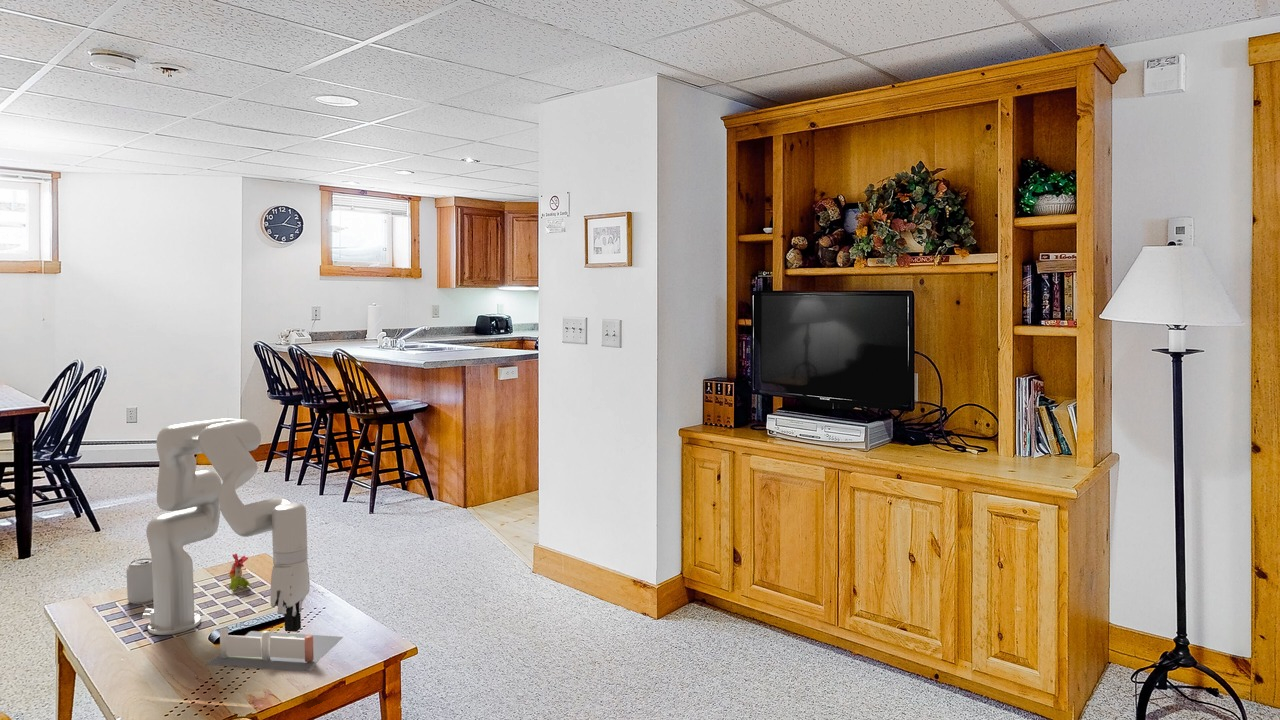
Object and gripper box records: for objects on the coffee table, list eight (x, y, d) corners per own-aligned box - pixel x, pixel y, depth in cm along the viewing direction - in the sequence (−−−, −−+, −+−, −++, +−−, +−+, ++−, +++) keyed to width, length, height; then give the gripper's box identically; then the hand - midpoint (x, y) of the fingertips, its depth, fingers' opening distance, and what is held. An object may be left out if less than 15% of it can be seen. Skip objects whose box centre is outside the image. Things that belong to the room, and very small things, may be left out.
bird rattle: (223, 594, 242) (231, 590, 236) (217, 558, 244) (226, 554, 238) (244, 589, 246) (253, 585, 240) (239, 554, 248) (248, 549, 242)
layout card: (205, 666, 192) (205, 664, 192) (251, 633, 211) (250, 630, 211) (306, 673, 190) (306, 670, 190) (343, 639, 208) (343, 636, 208)
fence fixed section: (218, 657, 195) (218, 630, 195) (223, 654, 197) (222, 627, 197) (267, 661, 194) (266, 634, 194) (271, 657, 196) (270, 630, 195)
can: (147, 605, 227) (145, 565, 226) (121, 604, 228) (120, 564, 226) (163, 595, 235) (161, 556, 234) (138, 594, 235) (137, 556, 234)
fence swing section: (268, 659, 194) (268, 636, 194) (273, 655, 196) (272, 632, 196) (311, 662, 193) (310, 638, 193) (315, 658, 195) (314, 635, 195)
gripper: (292, 545, 194) (294, 616, 195) (257, 565, 179) (260, 643, 181) (321, 546, 193) (323, 618, 195) (288, 567, 178) (291, 644, 180)
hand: (292, 630), depth 188 cm, fingers closed
